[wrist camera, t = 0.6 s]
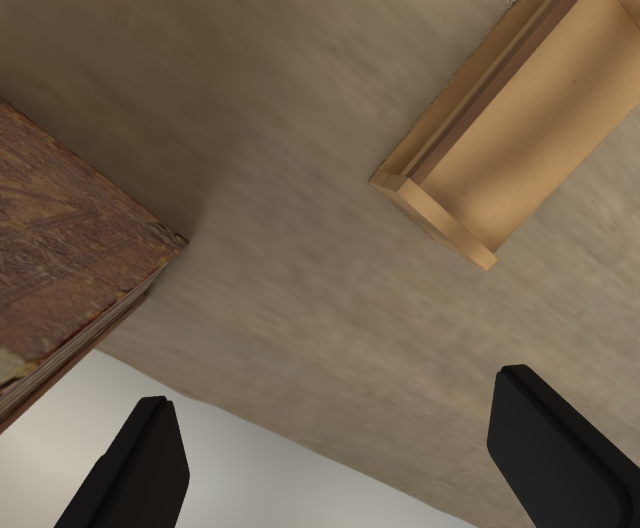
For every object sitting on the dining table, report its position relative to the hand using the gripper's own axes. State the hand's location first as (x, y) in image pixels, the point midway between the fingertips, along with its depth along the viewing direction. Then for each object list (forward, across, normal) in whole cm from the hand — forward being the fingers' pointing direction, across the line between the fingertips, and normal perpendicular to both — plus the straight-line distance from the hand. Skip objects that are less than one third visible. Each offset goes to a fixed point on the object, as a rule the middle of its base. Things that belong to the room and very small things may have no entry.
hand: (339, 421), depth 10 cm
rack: (+30, -18, -9) cm, 36 cm away
